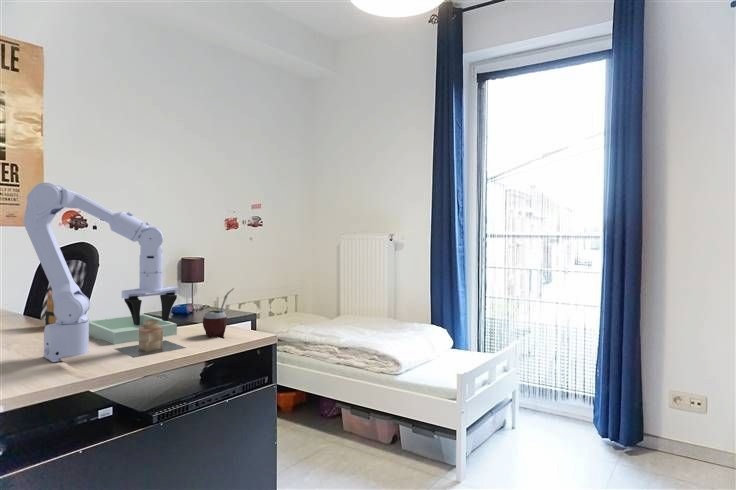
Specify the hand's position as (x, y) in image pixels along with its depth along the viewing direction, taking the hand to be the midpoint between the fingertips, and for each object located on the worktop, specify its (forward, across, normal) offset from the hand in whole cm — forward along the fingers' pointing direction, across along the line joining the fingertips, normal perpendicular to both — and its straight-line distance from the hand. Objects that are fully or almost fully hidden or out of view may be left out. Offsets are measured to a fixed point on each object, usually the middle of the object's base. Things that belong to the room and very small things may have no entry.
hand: (151, 322), depth 129 cm
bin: (+8, +4, +22) cm, 24 cm away
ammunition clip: (+8, -8, +49) cm, 50 cm away
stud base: (+8, 0, 0) cm, 8 cm away
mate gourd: (+8, +21, +2) cm, 23 cm away
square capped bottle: (+7, 0, 0) cm, 7 cm away
